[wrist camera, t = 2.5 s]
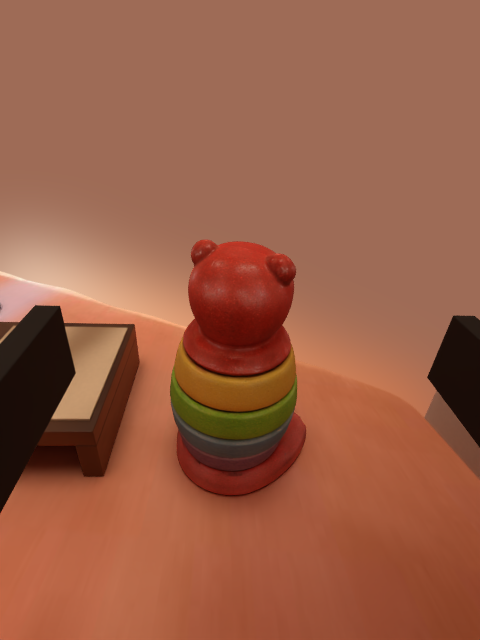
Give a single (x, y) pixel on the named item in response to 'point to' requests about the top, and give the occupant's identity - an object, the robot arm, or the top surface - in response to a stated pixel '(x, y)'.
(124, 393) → the dollhouse bed
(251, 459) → the stacking bear
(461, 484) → the top surface
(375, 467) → the top surface
